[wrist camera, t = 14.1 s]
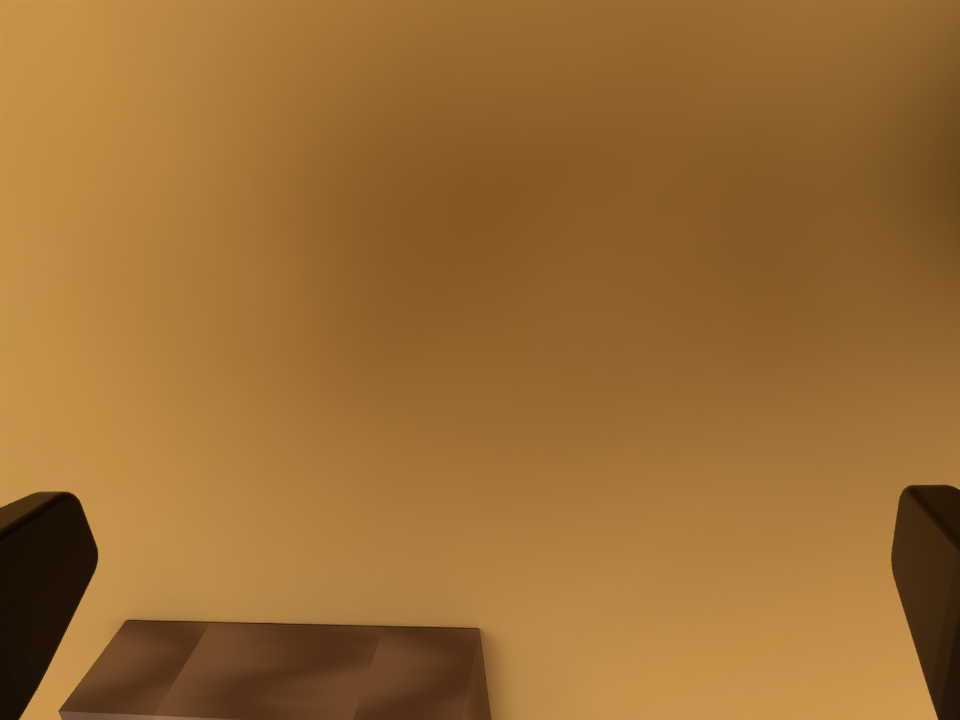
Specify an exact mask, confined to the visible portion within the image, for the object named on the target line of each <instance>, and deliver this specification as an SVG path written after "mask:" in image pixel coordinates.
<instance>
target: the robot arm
mask: <svg viewBox="0 0 960 720" xmlns="http://www.w3.org/2000/svg"><path fill="white" fill-rule="evenodd" d="M97 562H98V549H97V545H96V543H95V540H94V537H93V534H92V532H91V529H90V526H89V524H88V521H87V518H86V516H85V513H84V510H83V508H82V505H81V503H80V501H79V499H78V498H77V497H76V496H75V495H74V494H72V493H70V492H37V493H33V494H31V495H28V496H26V497H24V498H22V499H19V500H17V501H15V502H12V503H10V504H8V505H6V506H3V507H1V508H0V720H19V719H20V717H21V716H22V714H23V712H24V711H25V709H26V707H27V706H28V704H29V702H30V700H31V699H32V697H33V695H34V693H35V692H36V690H37V688H38V686H39V685H40V683H41V681H42V679H43V677H44V675H45V673H46V671H47V669H48V667H49V665H50V663H51V661H52V659H53V657H54V655H55V653H56V651H57V648H58V646H59V644H60V642H61V640H62V638H63V636H64V634H65V632H66V630H67V628H68V626H69V624H70V622H71V620H72V618H73V615H74V613H75V611H76V609H77V607H78V605H79V603H80V601H81V599H82V597H83V595H84V593H85V591H86V589H87V587H88V585H89V582H90V580H91V578H92V576H93V574H94V572H95V570H96V566H97ZM891 562H892V571H893V576H894V580H895V583H896V586H897V590H898V593H899V596H900V599H901V603H902V606H903V609H904V612H905V616H906V619H907V622H908V625H909V629H910V632H911V635H912V638H913V642H914V645H915V648H916V651H917V655H918V658H919V661H920V664H921V668H922V671H923V674H924V677H925V681H926V684H927V687H928V690H929V694H930V697H931V700H932V703H933V706H934V709H935V712H936V715H937V718H938V720H960V490H959V489H957V488H955V487H953V486H949V485H910V486H908V487H906V488H905V489H904V490H903V491H902V493H901V496H900V499H899V504H898V511H897V518H896V525H895V532H894V539H893V546H892V554H891Z"/></svg>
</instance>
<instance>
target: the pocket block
mask: <svg viewBox="0 0 960 720" xmlns="http://www.w3.org/2000/svg"><path fill="white" fill-rule="evenodd" d="M58 712H59V714H60V716H61V718H62V720H491V717H490V709H489V702H488V694H487V686H486V679H485V671H484V663H483V655H482V648H481V640H480V632H479V629H457V628H416V627H374V626H332V625H290V624H248V623H207V622H165V621H125V623H124V624H123V625H122V627H121V628H120V629H119V631H118V632H117V633H116V635H115V636H114V637H113V639H112V640H111V641H110V643H109V644H108V645H107V647H106V648H105V649H104V651H103V652H102V654H101V655H100V656H99V658H98V659H97V660H96V662H95V663H94V664H93V666H92V667H91V668H90V670H89V671H88V672H87V674H86V675H85V676H84V678H83V679H82V680H81V682H80V683H79V684H78V686H77V687H76V688H75V690H74V691H73V692H72V694H71V695H70V696H69V698H68V699H67V700H66V702H65V703H64V704H63V706H62V707H61V708H60V710H59V711H58Z"/></svg>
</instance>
